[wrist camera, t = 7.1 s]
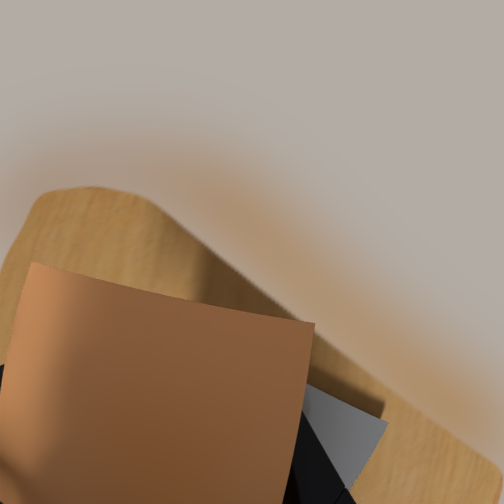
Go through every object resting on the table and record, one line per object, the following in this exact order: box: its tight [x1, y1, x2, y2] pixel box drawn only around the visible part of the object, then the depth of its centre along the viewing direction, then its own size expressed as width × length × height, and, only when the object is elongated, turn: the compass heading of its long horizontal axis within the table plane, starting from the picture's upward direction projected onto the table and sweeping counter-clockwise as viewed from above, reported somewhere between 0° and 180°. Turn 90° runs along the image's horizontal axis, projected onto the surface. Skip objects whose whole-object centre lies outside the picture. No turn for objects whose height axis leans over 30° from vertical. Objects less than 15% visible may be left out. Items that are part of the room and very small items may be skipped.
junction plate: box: [302, 383, 388, 491], centre depth 16 cm, size 13×9×4 cm
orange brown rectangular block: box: [0, 261, 315, 504], centre depth 9 cm, size 6×6×10 cm
